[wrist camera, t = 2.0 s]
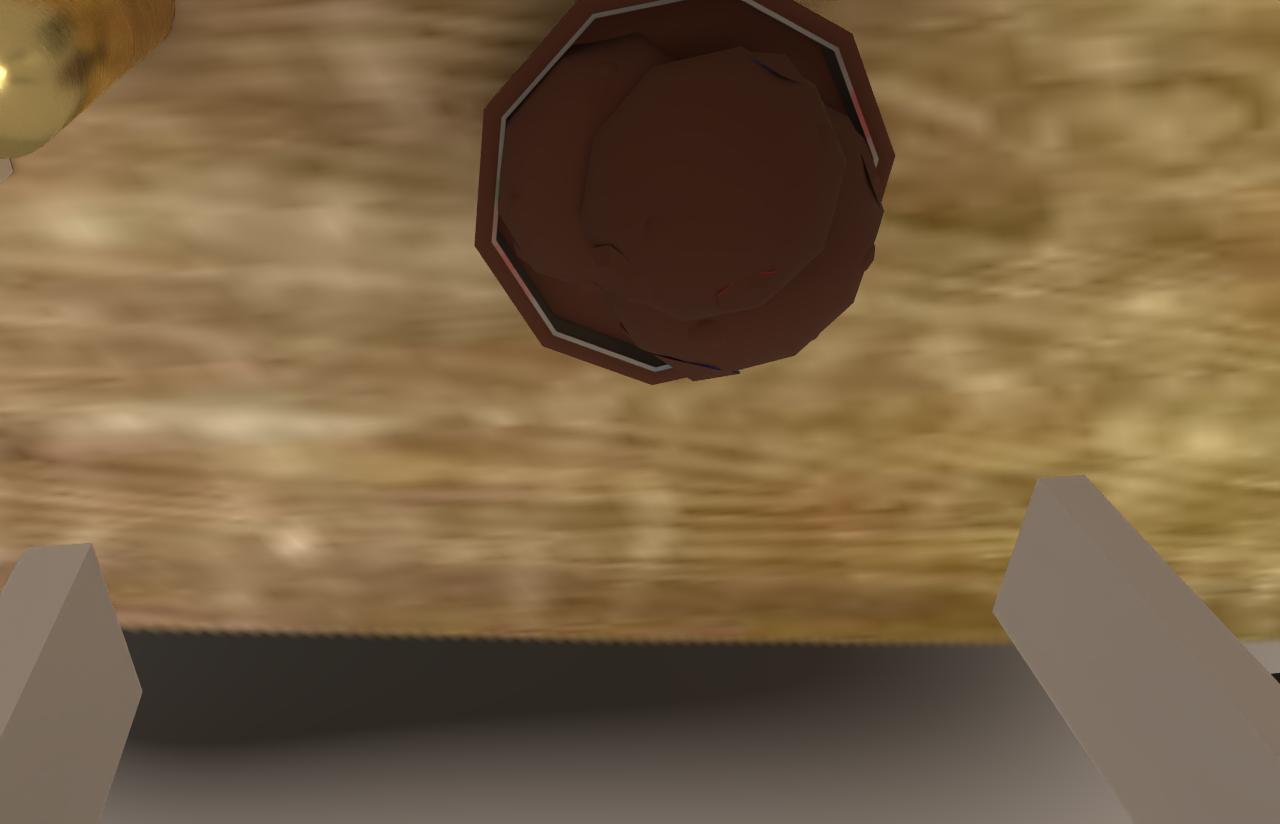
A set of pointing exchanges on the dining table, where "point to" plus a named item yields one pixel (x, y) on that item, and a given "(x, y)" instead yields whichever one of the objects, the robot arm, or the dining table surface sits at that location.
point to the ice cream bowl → (683, 184)
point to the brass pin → (67, 60)
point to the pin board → (5, 169)
